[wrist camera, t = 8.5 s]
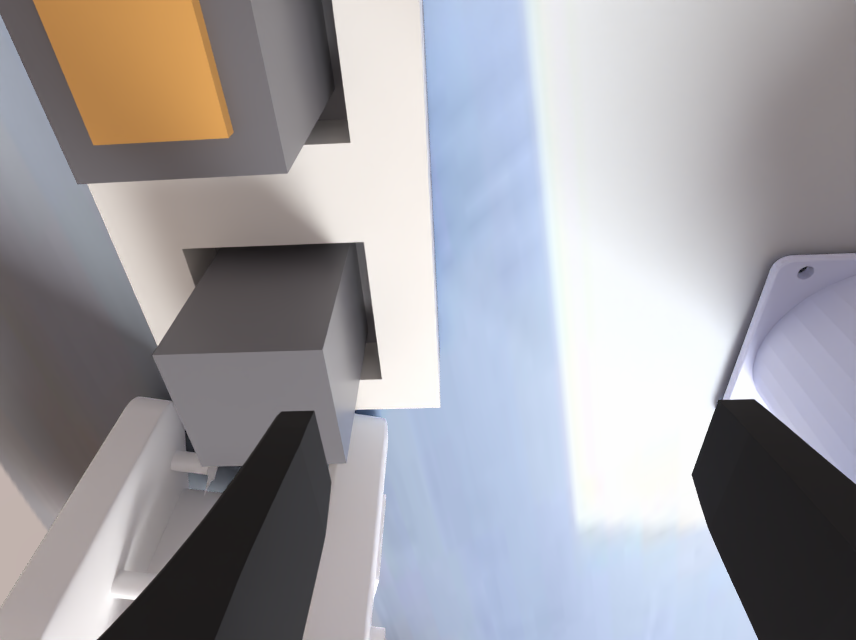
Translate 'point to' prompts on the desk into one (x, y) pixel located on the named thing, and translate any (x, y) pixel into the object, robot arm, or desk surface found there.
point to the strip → (300, 258)
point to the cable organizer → (186, 533)
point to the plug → (175, 83)
